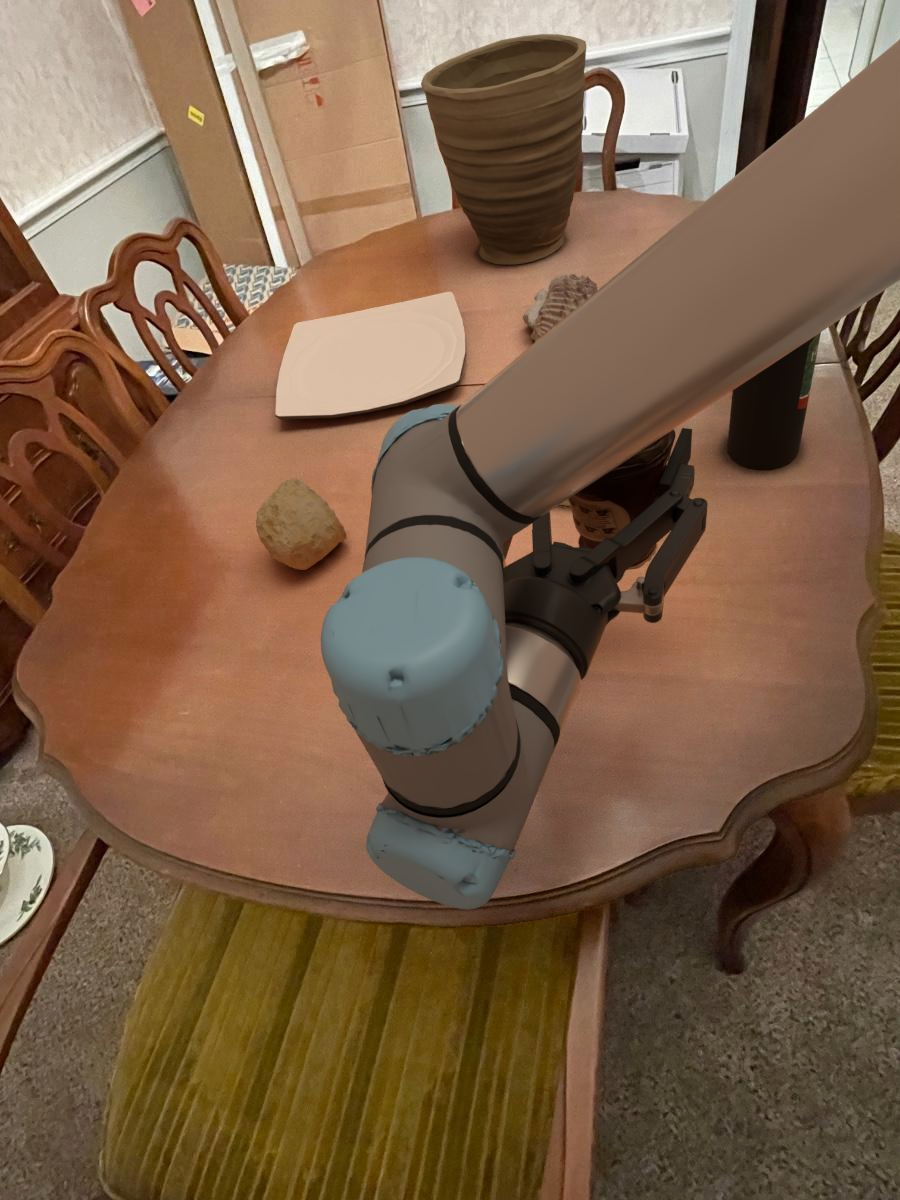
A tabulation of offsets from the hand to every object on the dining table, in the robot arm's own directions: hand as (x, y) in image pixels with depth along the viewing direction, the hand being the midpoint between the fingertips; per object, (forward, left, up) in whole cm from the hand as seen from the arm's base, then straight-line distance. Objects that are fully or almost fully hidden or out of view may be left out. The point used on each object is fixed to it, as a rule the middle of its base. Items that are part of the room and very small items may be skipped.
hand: (632, 436), depth 60 cm
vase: (+35, -75, -20) cm, 85 cm away
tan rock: (+38, 0, -20) cm, 43 cm away
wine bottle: (-9, -25, -20) cm, 33 cm away
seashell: (+21, -49, -20) cm, 57 cm away
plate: (+47, -38, -20) cm, 63 cm away
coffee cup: (0, +5, -8) cm, 9 cm away
